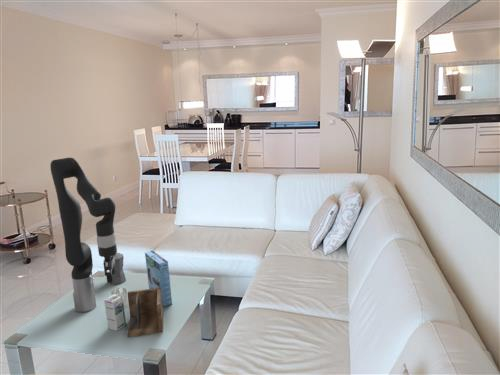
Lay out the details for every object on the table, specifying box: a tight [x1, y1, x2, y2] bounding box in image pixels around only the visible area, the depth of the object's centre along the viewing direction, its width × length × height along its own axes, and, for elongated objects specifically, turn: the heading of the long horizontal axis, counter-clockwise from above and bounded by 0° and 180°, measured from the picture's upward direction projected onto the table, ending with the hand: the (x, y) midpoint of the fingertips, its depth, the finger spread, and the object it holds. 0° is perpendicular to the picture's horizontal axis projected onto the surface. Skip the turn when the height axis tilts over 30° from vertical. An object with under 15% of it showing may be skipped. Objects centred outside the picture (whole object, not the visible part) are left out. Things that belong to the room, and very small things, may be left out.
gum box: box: [144, 250, 173, 308], centre depth 202 cm, size 20×5×23 cm, turn 35°
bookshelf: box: [126, 288, 164, 338], centre depth 179 cm, size 15×16×14 cm
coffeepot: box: [109, 252, 127, 286], centre depth 223 cm, size 15×9×18 cm, turn 1°
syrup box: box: [103, 293, 127, 332], centre depth 178 cm, size 6×6×14 cm
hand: (111, 278), depth 175 cm, fingers open, 8 cm apart
